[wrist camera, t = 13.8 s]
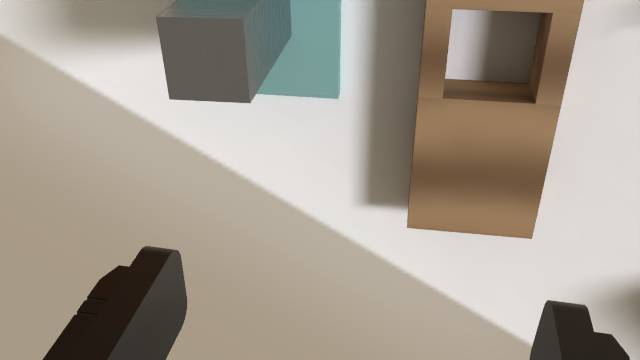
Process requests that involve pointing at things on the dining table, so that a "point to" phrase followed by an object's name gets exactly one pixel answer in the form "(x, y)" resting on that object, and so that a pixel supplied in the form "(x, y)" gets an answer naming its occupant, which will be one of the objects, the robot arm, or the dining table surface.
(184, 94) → the steel plug
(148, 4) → the dining table surface
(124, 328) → the robot arm
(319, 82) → the teal pad
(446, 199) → the brown slotted block
